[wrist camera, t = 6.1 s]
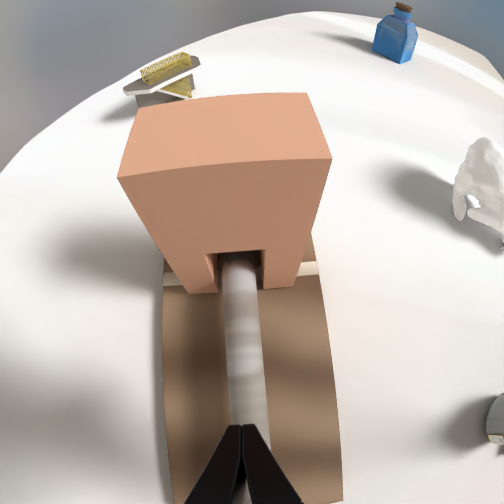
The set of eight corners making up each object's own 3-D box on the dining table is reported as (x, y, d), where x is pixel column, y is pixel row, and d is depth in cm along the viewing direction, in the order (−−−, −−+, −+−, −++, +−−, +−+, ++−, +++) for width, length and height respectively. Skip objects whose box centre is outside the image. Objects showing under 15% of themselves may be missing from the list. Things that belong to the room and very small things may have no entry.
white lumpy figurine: (485, 119, 18) (556, 202, 15) (445, 169, 26) (511, 237, 23) (480, 146, 16) (559, 242, 13) (432, 200, 24) (503, 275, 21)
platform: (258, 94, 32) (258, 50, 26) (131, 167, 27) (109, 119, 21) (203, 68, 36) (199, 31, 31) (95, 125, 31) (78, 87, 25)
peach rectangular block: (293, 286, 19) (332, 158, 9) (188, 294, 19) (116, 177, 8) (285, 234, 21) (306, 92, 10) (189, 242, 21) (138, 108, 10)
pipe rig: (339, 496, 13) (360, 520, 9) (179, 506, 13) (160, 532, 9) (307, 232, 23) (317, 196, 18) (169, 243, 22) (151, 209, 18)
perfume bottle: (384, 46, 43) (395, -1, 32) (410, 59, 40) (424, 12, 30) (371, 50, 41) (382, -2, 30) (399, 64, 39) (414, 11, 28)
